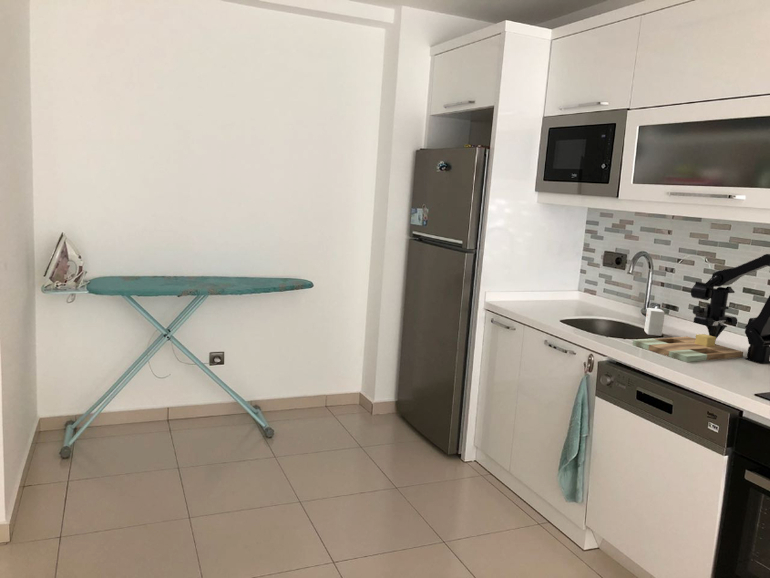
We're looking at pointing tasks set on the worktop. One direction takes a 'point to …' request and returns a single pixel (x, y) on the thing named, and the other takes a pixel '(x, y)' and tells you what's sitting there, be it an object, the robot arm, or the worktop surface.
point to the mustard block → (705, 340)
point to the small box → (654, 321)
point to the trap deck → (687, 349)
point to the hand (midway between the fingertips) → (712, 341)
